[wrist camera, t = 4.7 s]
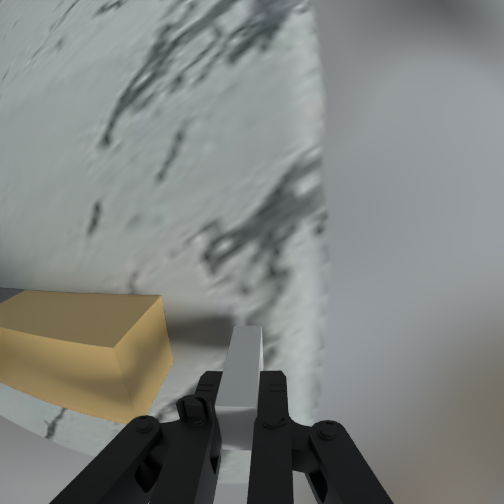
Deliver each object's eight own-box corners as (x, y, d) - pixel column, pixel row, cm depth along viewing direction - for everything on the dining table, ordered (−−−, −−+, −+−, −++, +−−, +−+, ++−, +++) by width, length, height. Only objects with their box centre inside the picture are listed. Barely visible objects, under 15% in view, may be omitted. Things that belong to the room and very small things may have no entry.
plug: (-4, 287, 19) (-78, 327, 9) (161, 295, 17) (72, 394, 8) (11, 335, 20) (-54, 384, 10) (173, 362, 18) (116, 474, 9)
